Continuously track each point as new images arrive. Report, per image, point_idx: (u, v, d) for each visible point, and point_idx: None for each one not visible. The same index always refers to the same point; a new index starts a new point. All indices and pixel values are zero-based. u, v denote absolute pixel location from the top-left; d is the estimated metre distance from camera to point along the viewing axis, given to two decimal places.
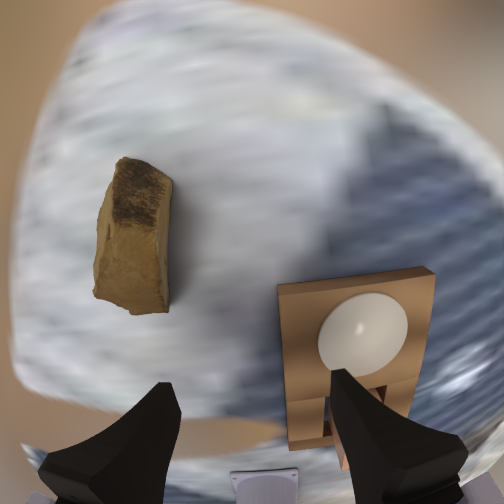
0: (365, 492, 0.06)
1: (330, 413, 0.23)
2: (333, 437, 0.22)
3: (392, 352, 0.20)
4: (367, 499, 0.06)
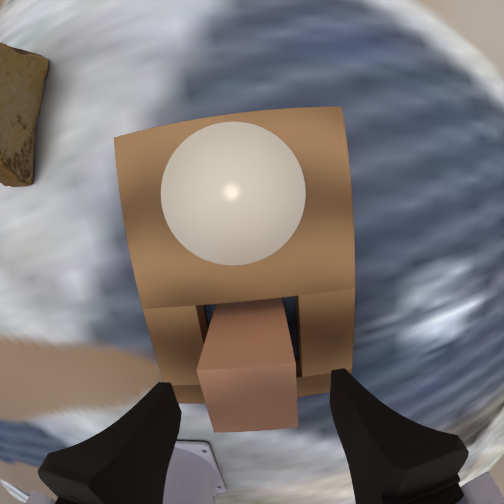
0: (365, 492, 0.06)
1: None
2: None
3: (286, 224, 0.14)
4: (367, 499, 0.06)
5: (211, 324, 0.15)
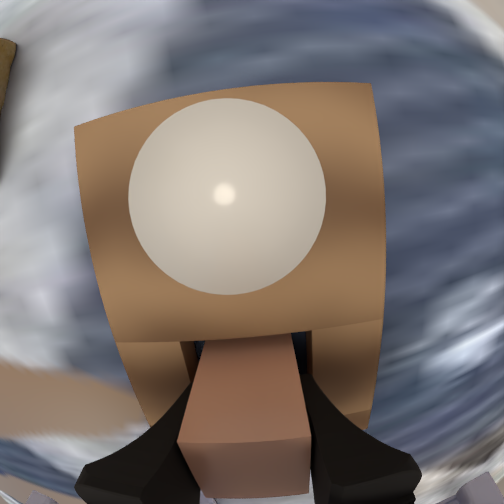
0: (319, 501, 0.07)
1: None
2: None
3: (299, 240, 0.10)
4: None
5: (199, 367, 0.11)
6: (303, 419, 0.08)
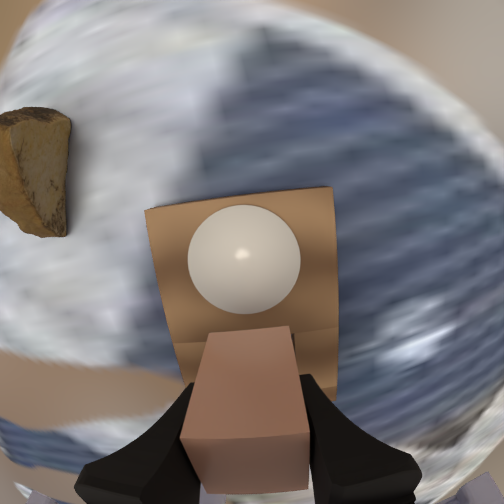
0: (319, 501, 0.07)
1: None
2: None
3: (285, 284, 0.19)
4: None
5: (201, 366, 0.12)
6: (302, 415, 0.08)
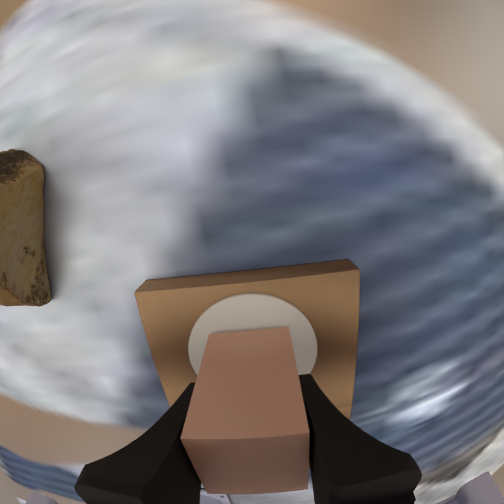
0: (319, 502, 0.07)
1: None
2: None
3: None
4: None
5: (201, 367, 0.12)
6: (302, 416, 0.08)
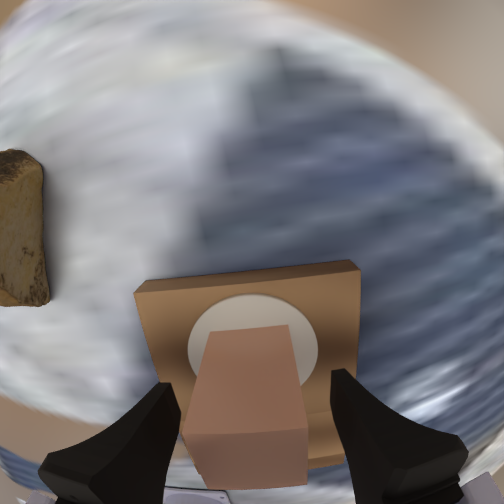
0: (365, 492, 0.06)
1: None
2: None
3: (299, 376, 0.15)
4: (367, 499, 0.06)
5: (202, 364, 0.12)
6: (301, 411, 0.09)
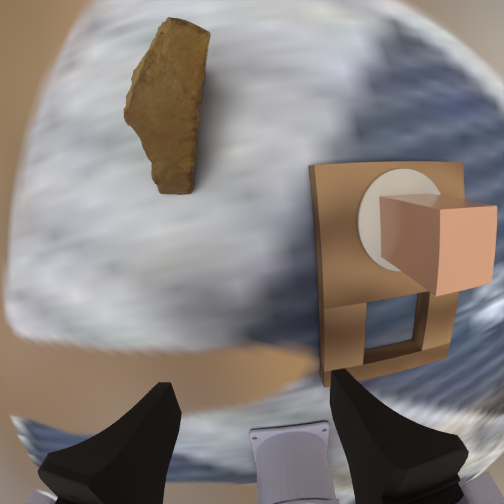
0: (365, 492, 0.06)
1: (387, 237, 0.17)
2: (401, 268, 0.15)
3: None
4: (367, 499, 0.06)
5: (400, 200, 0.15)
6: (486, 204, 0.11)
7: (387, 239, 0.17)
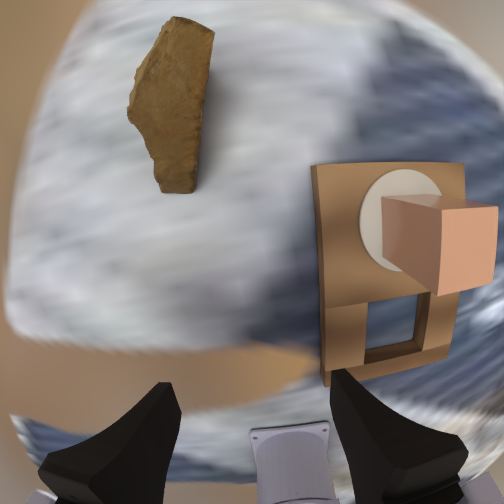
0: (365, 492, 0.06)
1: (389, 237, 0.17)
2: (402, 268, 0.15)
3: None
4: (367, 499, 0.06)
5: (402, 200, 0.15)
6: (487, 204, 0.11)
7: (388, 239, 0.17)
